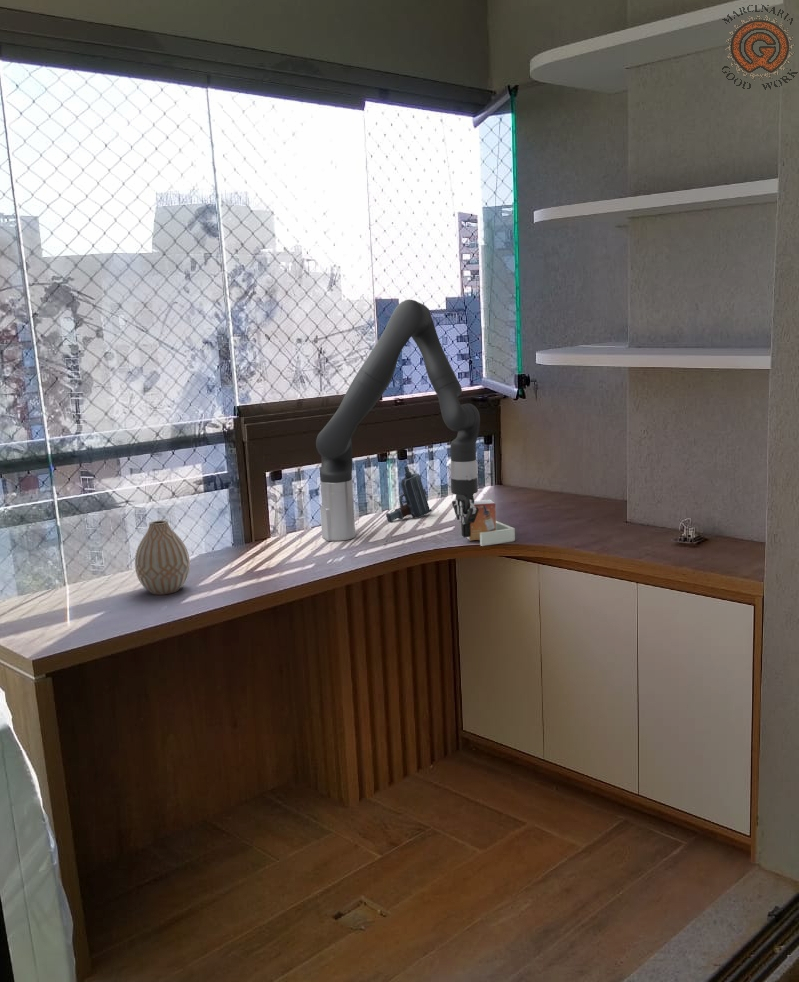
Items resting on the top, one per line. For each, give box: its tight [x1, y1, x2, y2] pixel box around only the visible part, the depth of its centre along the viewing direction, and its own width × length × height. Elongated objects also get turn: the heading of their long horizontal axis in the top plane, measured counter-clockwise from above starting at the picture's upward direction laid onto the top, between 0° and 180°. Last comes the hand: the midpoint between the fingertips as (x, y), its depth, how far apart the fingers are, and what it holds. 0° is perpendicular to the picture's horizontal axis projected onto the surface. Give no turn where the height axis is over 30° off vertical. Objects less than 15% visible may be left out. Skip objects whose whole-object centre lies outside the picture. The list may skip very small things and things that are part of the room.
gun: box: [385, 465, 433, 523], centre depth 299 cm, size 3×17×15 cm
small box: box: [465, 499, 497, 541], centre depth 271 cm, size 8×6×10 cm
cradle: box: [460, 520, 516, 547], centre depth 271 cm, size 11×13×4 cm
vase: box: [134, 519, 191, 596], centre depth 233 cm, size 13×13×18 cm
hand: (466, 536), depth 268 cm, fingers closed
